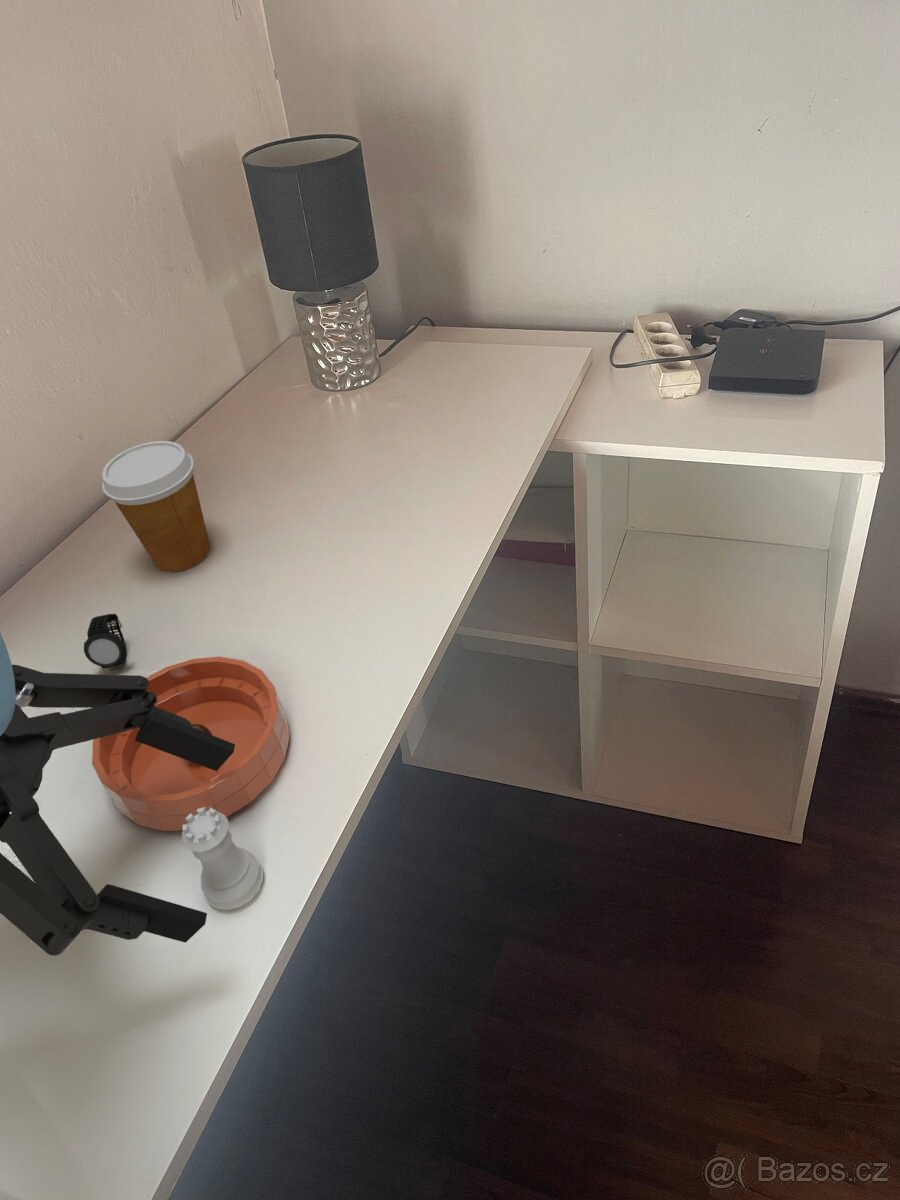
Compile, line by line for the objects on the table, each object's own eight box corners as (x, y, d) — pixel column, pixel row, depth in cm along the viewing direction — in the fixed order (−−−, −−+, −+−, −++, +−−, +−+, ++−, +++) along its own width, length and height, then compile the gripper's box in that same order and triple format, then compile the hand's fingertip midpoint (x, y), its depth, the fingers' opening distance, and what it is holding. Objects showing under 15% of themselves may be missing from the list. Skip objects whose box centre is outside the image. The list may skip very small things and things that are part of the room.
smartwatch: (89, 676, 83) (67, 639, 80) (116, 639, 87) (96, 602, 84) (127, 679, 82) (106, 641, 79) (152, 641, 86) (133, 604, 83)
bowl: (235, 853, 66) (217, 819, 63) (77, 813, 71) (53, 780, 68) (320, 706, 76) (307, 670, 73) (176, 680, 81) (159, 646, 78)
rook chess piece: (277, 880, 64) (246, 817, 58) (228, 925, 62) (191, 863, 56) (242, 847, 66) (209, 784, 61) (194, 889, 64) (155, 827, 59)
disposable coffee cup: (141, 541, 100) (99, 452, 92) (222, 520, 101) (188, 430, 93) (139, 591, 93) (94, 499, 85) (227, 567, 94) (190, 474, 86)
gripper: (-57, 619, 62) (213, 727, 71) (-249, 955, 43) (152, 1043, 52) (-22, 551, 58) (258, 674, 67) (-215, 886, 39) (210, 993, 49)
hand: (212, 835), depth 60 cm, fingers open, 13 cm apart
